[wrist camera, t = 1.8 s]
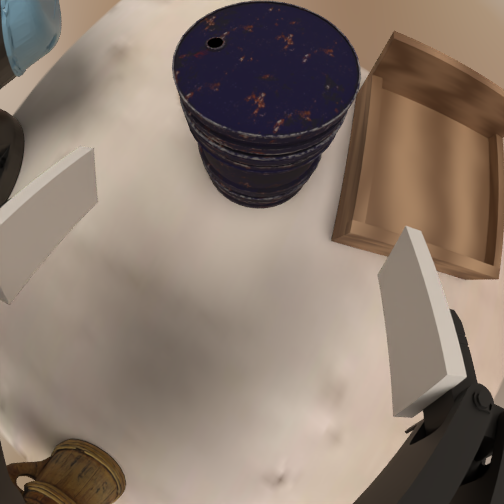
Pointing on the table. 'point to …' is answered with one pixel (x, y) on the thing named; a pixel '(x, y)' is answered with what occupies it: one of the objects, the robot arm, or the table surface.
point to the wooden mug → (71, 476)
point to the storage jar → (264, 96)
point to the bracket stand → (426, 161)
